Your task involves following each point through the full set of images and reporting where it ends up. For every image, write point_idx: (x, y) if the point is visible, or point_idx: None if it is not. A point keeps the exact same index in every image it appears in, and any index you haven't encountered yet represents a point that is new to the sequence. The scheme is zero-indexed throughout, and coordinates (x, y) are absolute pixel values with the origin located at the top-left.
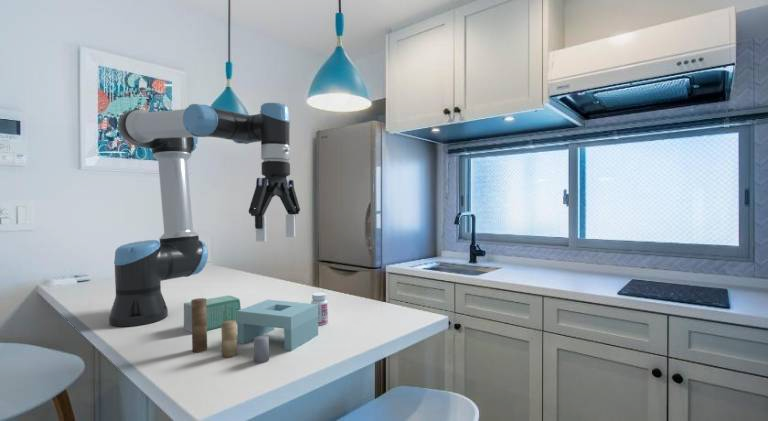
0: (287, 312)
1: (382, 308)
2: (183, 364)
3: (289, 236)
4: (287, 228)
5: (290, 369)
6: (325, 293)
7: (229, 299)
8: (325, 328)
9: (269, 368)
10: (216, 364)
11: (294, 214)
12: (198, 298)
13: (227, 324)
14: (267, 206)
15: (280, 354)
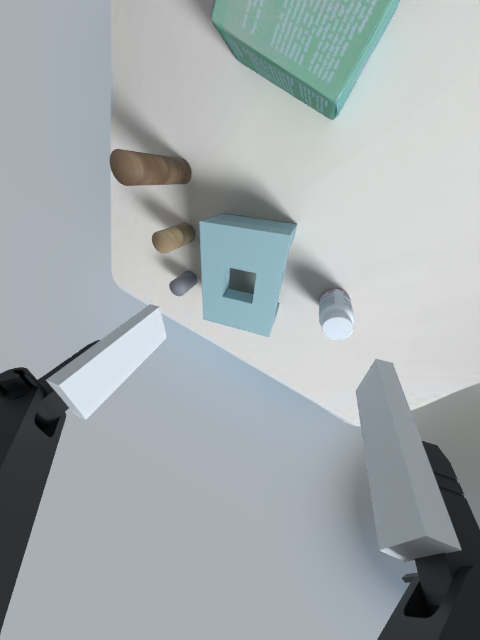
0: (218, 308)
1: (430, 379)
2: (145, 191)
3: (366, 375)
4: (382, 406)
5: (186, 311)
6: (342, 338)
7: (320, 68)
8: (306, 314)
9: None
10: None
11: (391, 555)
12: (127, 154)
13: (154, 246)
14: (40, 486)
15: None
